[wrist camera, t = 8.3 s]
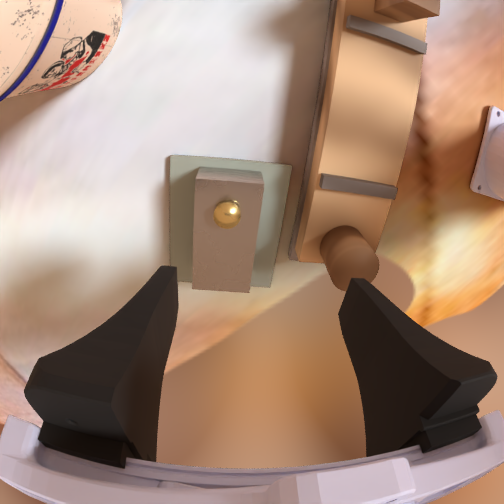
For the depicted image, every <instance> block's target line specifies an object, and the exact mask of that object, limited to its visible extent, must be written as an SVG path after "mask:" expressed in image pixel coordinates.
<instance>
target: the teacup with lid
mask: <svg viewBox="0 0 504 504" xmlns="http://www.w3.org/2000/svg"><path fill="white" fill-rule="evenodd" d="M121 22H122V5H121V1H120V0H0V101H2V100H3V99H5V98H9V97H13V96H18V95H23V94H27V93H33V92H38V91H43V90H49V89H55V88H62V87H66V86H69V85H72V84H75V83H77V82H79V81H81V80H82V79H84V78H85V77H87V76H88V75H90V74H91V73H92V72H93V71H94V70H95V69H96V68H98V66H99V65H100V64H101V63H102V62H103V61H104V60H105V58H106V57H107V55H108V54H109V53H110V51H111V49H112V48H113V46H114V44H115V42H116V39H117V37H118V34H119V31H120V27H121Z"/></svg>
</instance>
